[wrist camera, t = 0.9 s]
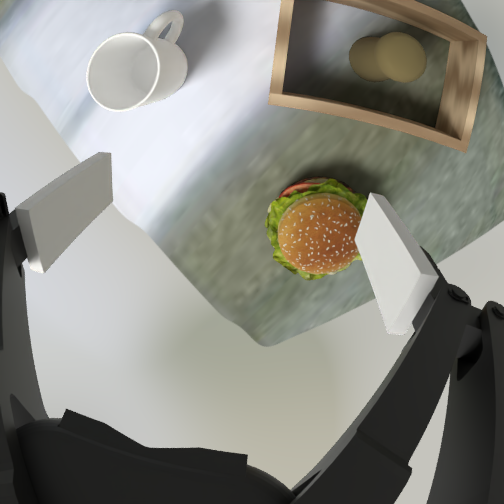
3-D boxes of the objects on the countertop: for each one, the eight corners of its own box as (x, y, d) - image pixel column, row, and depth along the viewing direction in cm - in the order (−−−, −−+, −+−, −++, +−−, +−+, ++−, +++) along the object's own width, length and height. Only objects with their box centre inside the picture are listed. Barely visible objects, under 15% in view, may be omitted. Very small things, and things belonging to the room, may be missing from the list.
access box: (283, -15, 25) (285, -33, 19) (457, 37, 25) (486, 36, 19) (269, 99, 34) (268, 104, 28) (439, 138, 34) (466, 153, 28)
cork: (370, 91, 32) (404, 99, 23) (338, 53, 30) (363, 46, 20) (404, 66, 29) (446, 68, 20) (374, 28, 27) (409, 15, 18)
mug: (165, 6, 27) (130, -11, 19) (219, 33, 29) (199, 20, 21) (118, 83, 33) (74, 91, 24) (167, 111, 35) (134, 126, 26)
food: (277, 267, 47) (277, 302, 40) (258, 180, 40) (254, 205, 33) (366, 254, 45) (379, 287, 38) (362, 165, 37) (380, 186, 31)
